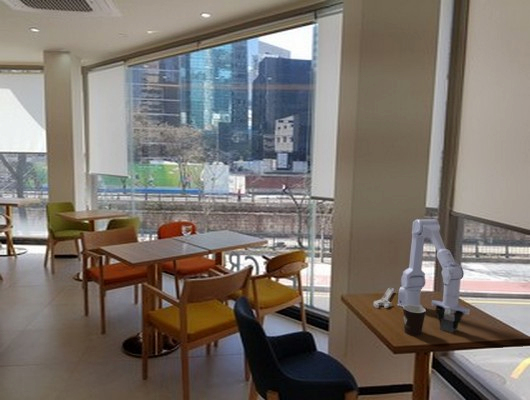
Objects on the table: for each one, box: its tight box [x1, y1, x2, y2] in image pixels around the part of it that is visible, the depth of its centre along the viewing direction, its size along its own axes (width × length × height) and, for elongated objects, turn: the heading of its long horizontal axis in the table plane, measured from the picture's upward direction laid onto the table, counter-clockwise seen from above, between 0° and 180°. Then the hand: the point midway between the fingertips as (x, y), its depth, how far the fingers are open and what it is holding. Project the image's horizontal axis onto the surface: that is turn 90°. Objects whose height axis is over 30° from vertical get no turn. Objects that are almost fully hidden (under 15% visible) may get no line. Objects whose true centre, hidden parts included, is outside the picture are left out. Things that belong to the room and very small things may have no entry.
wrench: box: [372, 287, 395, 309], centre depth 207 cm, size 8×2×30 cm
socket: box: [439, 315, 458, 334], centre depth 172 cm, size 5×5×5 cm
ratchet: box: [436, 304, 463, 320], centre depth 189 cm, size 7×22×5 cm, turn 138°
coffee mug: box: [402, 305, 427, 337], centre depth 169 cm, size 12×9×10 cm
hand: (448, 326), depth 172 cm, fingers closed on socket, 5 cm apart
